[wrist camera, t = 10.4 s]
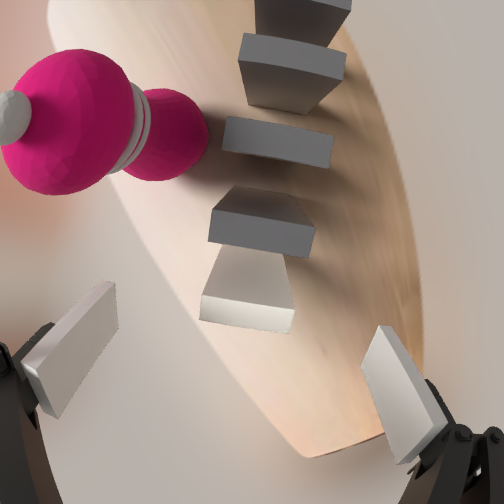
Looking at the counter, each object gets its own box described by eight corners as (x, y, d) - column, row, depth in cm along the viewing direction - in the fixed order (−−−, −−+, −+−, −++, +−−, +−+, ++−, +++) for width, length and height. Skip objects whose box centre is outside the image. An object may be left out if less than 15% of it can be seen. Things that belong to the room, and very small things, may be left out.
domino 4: (234, 185, 25) (212, 209, 13) (290, 195, 25) (315, 227, 13) (231, 203, 25) (207, 241, 14) (286, 212, 25) (308, 258, 14)
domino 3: (242, 136, 23) (227, 115, 12) (299, 146, 23) (334, 136, 12) (239, 153, 24) (221, 149, 12) (296, 163, 24) (328, 168, 13)
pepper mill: (215, 174, 24) (81, 234, 5) (140, 179, 25) (-47, 242, 6) (213, 96, 22) (98, -35, 3) (138, 105, 22) (-44, 60, 3)
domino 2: (251, 88, 22) (243, 32, 10) (307, 98, 22) (346, 53, 11) (248, 104, 22) (237, 59, 11) (305, 115, 22) (342, 80, 11)
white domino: (226, 234, 26) (201, 294, 15) (280, 243, 26) (295, 309, 15) (224, 250, 27) (199, 319, 15) (277, 259, 27) (288, 333, 15)
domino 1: (259, 45, 20) (259, -28, 9) (314, 55, 21) (352, -9, 9) (256, 60, 21) (254, -9, 10) (312, 70, 21) (350, 10, 10)
